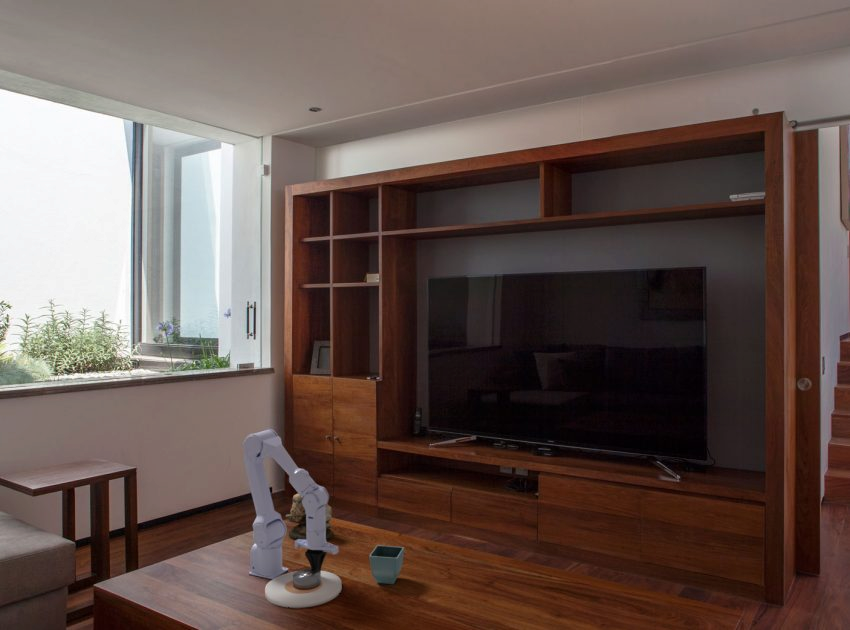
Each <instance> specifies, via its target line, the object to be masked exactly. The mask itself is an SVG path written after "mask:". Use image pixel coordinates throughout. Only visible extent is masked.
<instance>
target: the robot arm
mask: <svg viewBox="0 0 850 630" xmlns="http://www.w3.org/2000/svg"><path fill="white" fill-rule="evenodd" d="M242 448H243V453H244V454H243V464H244V467H245V472H246V477H247V480H248V485H249V489H250V493H251V497H252V501H253V504H254V508H255V514H256V517H255V519H254V521H253V523H252V529H253V534H252V539H253V542H254V544H253V545H252V546H251V549H250V551H249V553H250V554H249V557H250V560H249V562H250V565H249V566H250V567H249V568H250V571H249V572H248V575H251V576H256V577H261V578H264V579H269V580H272V579H274V578H276V577H278V576H280V575H283V574H285V573H286V572H287V571H289V568H288V567H284V566H283V542H284V538H285V536H286V535H287V525H286V523H285V522H284V520H283V518H282V515H281V513H279V512H278V511H276V510H275V507H274V502H273V499H272V498H273V497H272V494H271V491H270V486H269V483H268V482H269V481H268V479H267V474H266V471H265V466H264V461H265V459H266V457H267V458H272V459H274V461H275V462H276V463H277V464H278V465H279V466H280V467H281V468H282V469H283V471H285V473H286V474H287V475H288V476H289V477H288V483H289V484H291V486H292V487H293V488H294V490H295V491H296V492H297V494H299V495H300V496H301V497H302V498H303V500H302V505H303V507H304V508H305V514H306V535H307V540H303V539H298V538H297V539H298V540H297V539H296V540H294V548H303V549H307V550H306V551H305V552H304V556H305V557H306V559H307V560H308V563H309V565H310V569H316V570H319V571H320V572H321V571H322V568H323V567H322V566H323V564H324V560H325V558H326V556H327V554H328V553H330V554H331V555H336V554H338V553H339V546H338V545H335V544H332V543H331V542H328V541H327V539H326V519H325V506H324V505H325V504H328V503H329V499H330V494H329V492H328V490H327V488H325V487H324V486H323V485H322V486H321V485H319V484H317V483H316V481H314V479H313V477H311V476H310V474H309V473H310V472H309V471H308V470H306V469H305V468H300V467H298V466H297V464H296V463H295V461H294V460H293V458H292V457H291V455H290V454H289V453H288V451H287V450H286V448H285V447H284V445H283V443H282V438H281V436H279V435H278V433H277V432H276V431H275V430H274V429H272V428H268V429H265V430H263V431H259V432H255V433H250V434H248V435H247V436H246V437H245V439H244V440H243V442H242Z"/></svg>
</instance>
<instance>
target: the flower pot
mask: <svg viewBox="0 0 850 630" xmlns="http://www.w3.org/2000/svg"><path fill="white" fill-rule="evenodd" d="M404 551H405V547H402V546H390V545H380V544H378V545H376V546H375V547H374V549H373V550H372V551H371V552H370V554H369V563H370V570H371V574H372V577H373V579H374V580H375V582H376V583H378V584H386V585H387V584H388V585H394V584H395V582H396V580H397V579H398V577H399V575H400V572H401V569H402V567H403V562H404V553H405V552H404Z"/></svg>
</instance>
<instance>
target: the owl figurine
mask: <svg viewBox="0 0 850 630" xmlns="http://www.w3.org/2000/svg"><path fill="white" fill-rule="evenodd" d="M302 500H303V498H302V497H301V496H300V495H299V493H296V494H294V495H293V497H292V505H291V509H290V510H289V511H290V513H289V514H286V515H285V519H288V521H289V522H290V523H294V524H295V523H296V524H297V525H295V526H294V527H292V528H291V530H289V531H288V537H289V539H291V540H294V541H296V540H298V539H303V540H307V535H306V514H305V508H304V507H303V505H302ZM324 506H325V519H326V541H330V540H332V539H333V538H335V533H334V531H333V530H332V529H331V528H332V527H333V523H331V522H330V521H331V518H332V515H333V514H332V513H333V511H332V507H331V506H330V505H329V504H328V503H327V504H325V505H324Z"/></svg>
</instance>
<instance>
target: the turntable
mask: <svg viewBox="0 0 850 630" xmlns="http://www.w3.org/2000/svg"><path fill="white" fill-rule="evenodd" d="M296 571H297V570H296ZM296 571H290V572H287V573H286V572H285V573H282V574H281V575H279V576H277V577H276V578H274V579H270V581H269V582H267V583H266V586H265V588H264V596H265V599H266V600H267V601H268V602H269V603H271V604H272V605H275V606H278V607H283V608H288V607H289V608H292V609H301V608H310V607H315V606H320V605H322V604H325V603H328V602H331V601H332V600H333V599H335V598H337V597H338V596H339V595H340V594H339V593H341V592H342V587H343V585H342V582H343V581H342V579H341V578H340V577H339V576H338V575H337V574H335V573H332V572H329V571H325V570H321V584H320V586H319V587H317V588H315V589H311V590H298V589H295V588H294V587H293V574H294V573H295V572H296Z"/></svg>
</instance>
